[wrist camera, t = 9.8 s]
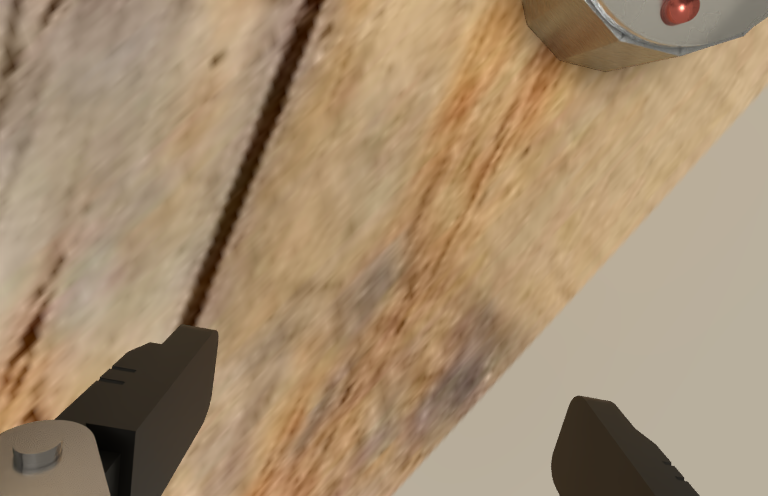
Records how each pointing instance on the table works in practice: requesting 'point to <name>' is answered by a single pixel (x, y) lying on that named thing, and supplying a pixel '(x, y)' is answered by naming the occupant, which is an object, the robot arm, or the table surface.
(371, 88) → the table surface
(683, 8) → the lid
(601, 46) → the pot
